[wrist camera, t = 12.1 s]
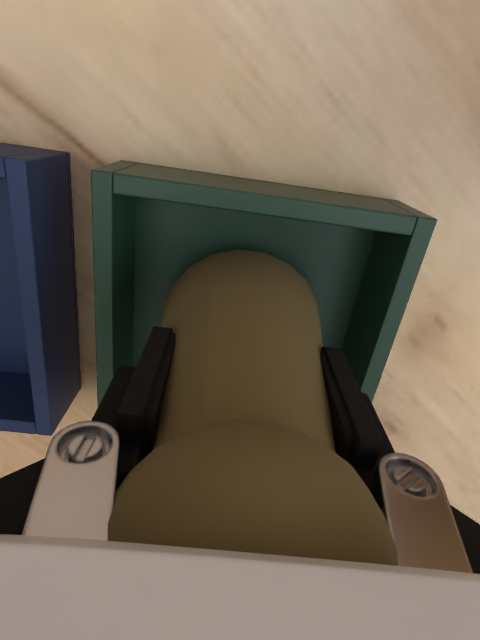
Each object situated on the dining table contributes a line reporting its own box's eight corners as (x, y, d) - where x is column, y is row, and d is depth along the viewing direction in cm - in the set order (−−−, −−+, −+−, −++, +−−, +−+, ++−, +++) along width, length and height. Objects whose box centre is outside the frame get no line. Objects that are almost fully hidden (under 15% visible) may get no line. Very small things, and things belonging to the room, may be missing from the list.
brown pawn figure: (316, 388, 16) (431, 785, 7) (171, 392, 16) (70, 790, 7) (324, 246, 14) (543, 557, 4) (152, 252, 14) (-66, 569, 4)
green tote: (120, 392, 18) (98, 441, 16) (120, 160, 14) (90, 169, 11) (332, 415, 19) (349, 467, 16) (399, 200, 15) (438, 219, 12)
